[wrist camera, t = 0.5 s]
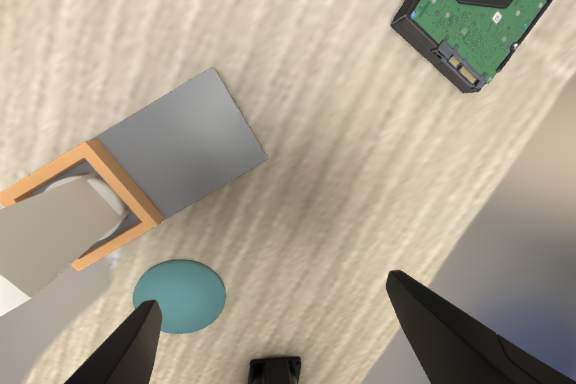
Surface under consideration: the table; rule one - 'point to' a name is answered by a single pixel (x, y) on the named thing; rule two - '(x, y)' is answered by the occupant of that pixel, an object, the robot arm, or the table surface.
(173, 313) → the mat
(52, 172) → the framed tray with cover
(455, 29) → the disk drive
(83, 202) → the tall white square post
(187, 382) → the table surface
